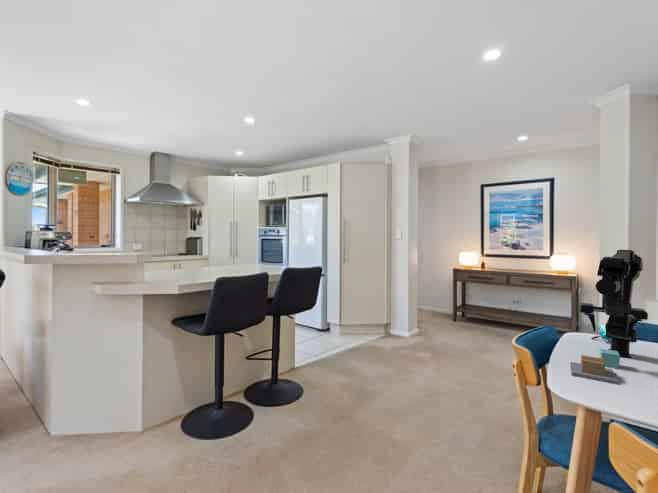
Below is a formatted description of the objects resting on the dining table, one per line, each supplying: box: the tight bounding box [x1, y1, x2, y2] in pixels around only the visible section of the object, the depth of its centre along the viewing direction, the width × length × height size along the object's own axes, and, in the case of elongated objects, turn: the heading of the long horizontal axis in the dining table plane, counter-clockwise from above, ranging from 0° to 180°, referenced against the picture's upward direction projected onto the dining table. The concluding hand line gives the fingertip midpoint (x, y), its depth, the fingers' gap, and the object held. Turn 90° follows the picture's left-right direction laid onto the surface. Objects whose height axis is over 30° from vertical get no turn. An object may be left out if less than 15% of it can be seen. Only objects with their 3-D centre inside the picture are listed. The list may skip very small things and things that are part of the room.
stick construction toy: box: [590, 325, 611, 344], centre depth 153 cm, size 12×7×8 cm
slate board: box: [569, 361, 618, 385], centre depth 117 cm, size 11×12×1 cm
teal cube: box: [599, 348, 621, 370], centre depth 125 cm, size 5×5×5 cm
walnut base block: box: [580, 354, 606, 376], centre depth 117 cm, size 6×6×4 cm
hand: (610, 333), depth 124 cm, fingers open, 9 cm apart
